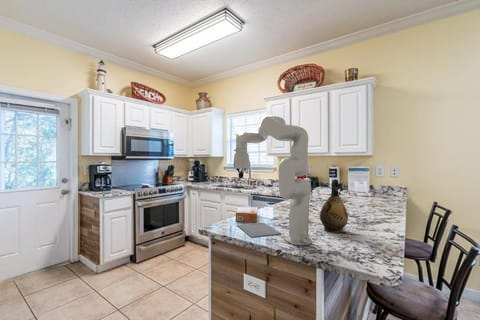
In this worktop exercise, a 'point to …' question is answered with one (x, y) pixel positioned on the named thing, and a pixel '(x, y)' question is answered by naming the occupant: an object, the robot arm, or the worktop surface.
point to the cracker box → (246, 214)
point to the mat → (258, 230)
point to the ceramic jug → (334, 211)
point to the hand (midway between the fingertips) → (240, 178)
